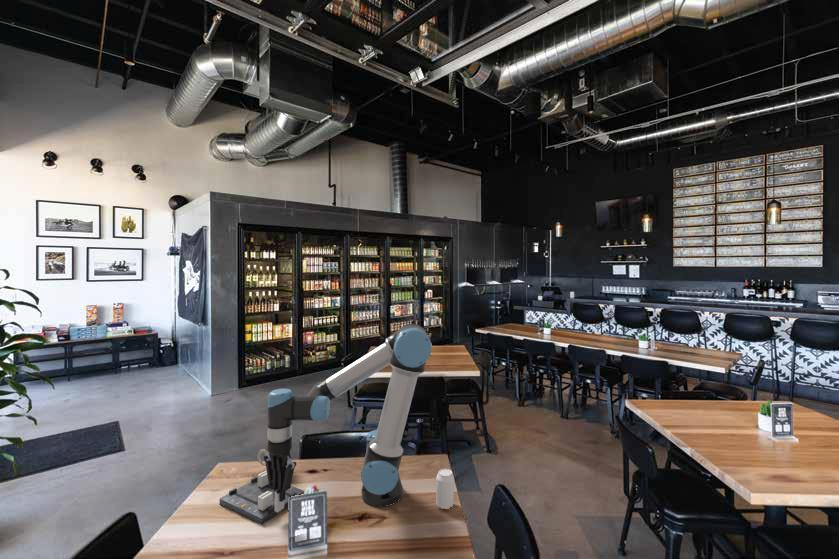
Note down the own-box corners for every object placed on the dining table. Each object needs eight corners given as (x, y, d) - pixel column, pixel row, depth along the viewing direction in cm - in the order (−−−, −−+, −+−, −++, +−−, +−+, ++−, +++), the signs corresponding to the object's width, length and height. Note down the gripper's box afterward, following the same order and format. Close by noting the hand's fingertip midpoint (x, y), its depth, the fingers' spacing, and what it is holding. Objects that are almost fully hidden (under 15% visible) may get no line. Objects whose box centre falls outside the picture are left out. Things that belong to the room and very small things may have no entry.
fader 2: (272, 504, 128) (272, 492, 128) (262, 510, 124) (262, 498, 124) (267, 502, 129) (267, 490, 129) (257, 508, 126) (257, 496, 125)
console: (304, 496, 137) (304, 488, 137) (261, 524, 121) (262, 515, 121) (263, 479, 147) (263, 472, 147) (219, 504, 131) (219, 495, 131)
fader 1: (271, 482, 141) (271, 471, 141) (261, 487, 138) (262, 476, 138) (266, 480, 143) (266, 469, 143) (257, 485, 139) (257, 474, 139)
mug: (278, 478, 149) (278, 453, 148) (250, 474, 151) (250, 449, 151) (290, 467, 157) (290, 443, 157) (263, 464, 159) (263, 440, 159)
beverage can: (457, 506, 132) (457, 472, 132) (446, 514, 127) (446, 479, 127) (443, 498, 136) (444, 465, 136) (432, 506, 131) (432, 472, 131)
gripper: (303, 437, 123) (302, 509, 124) (275, 429, 129) (274, 497, 130) (284, 446, 117) (284, 522, 117) (256, 437, 123) (256, 509, 123)
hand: (279, 509), depth 123 cm, fingers closed
